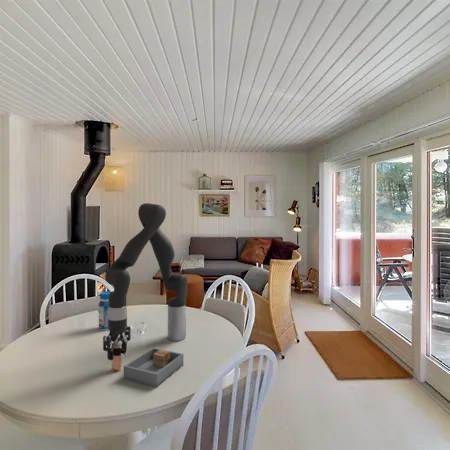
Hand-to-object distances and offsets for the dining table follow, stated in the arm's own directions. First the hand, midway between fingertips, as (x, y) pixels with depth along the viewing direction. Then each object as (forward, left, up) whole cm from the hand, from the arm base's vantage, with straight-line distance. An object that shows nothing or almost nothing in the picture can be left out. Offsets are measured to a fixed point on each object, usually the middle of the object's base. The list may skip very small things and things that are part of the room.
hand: (117, 355), depth 139 cm
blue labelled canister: (-35, -38, -6) cm, 52 cm away
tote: (-5, +15, -6) cm, 17 cm away
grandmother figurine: (0, 0, -6) cm, 6 cm away
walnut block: (-10, +15, -5) cm, 19 cm away
